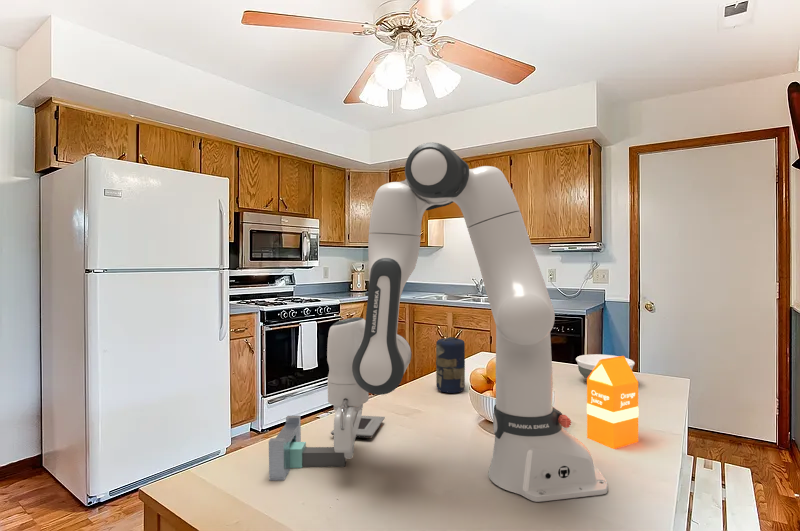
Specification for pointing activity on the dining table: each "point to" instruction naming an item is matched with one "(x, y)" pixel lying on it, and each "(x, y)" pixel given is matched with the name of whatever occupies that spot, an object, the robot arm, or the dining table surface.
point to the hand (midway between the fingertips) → (349, 455)
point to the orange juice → (612, 403)
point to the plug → (314, 456)
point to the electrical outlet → (367, 426)
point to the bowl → (594, 363)
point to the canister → (450, 365)
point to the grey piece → (283, 448)
